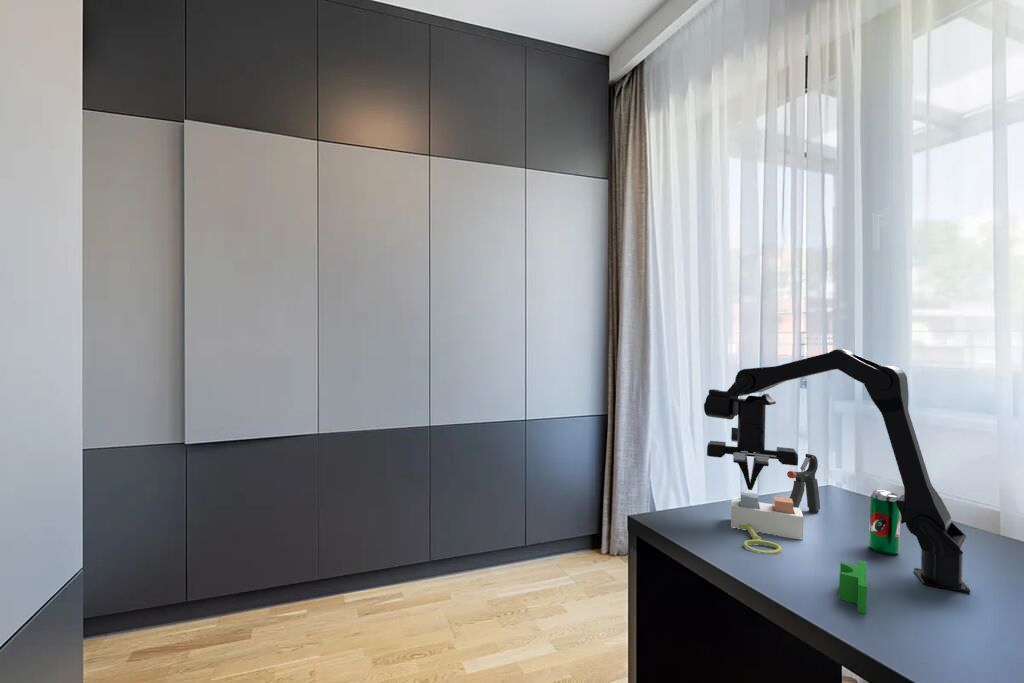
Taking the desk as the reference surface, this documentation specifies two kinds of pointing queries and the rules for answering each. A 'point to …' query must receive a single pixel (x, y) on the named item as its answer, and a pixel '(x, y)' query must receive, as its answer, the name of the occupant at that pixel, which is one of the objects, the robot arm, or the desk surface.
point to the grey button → (749, 500)
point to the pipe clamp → (853, 584)
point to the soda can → (884, 522)
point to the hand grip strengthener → (806, 484)
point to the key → (759, 541)
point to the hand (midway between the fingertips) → (749, 489)
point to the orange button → (783, 505)
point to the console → (768, 519)
